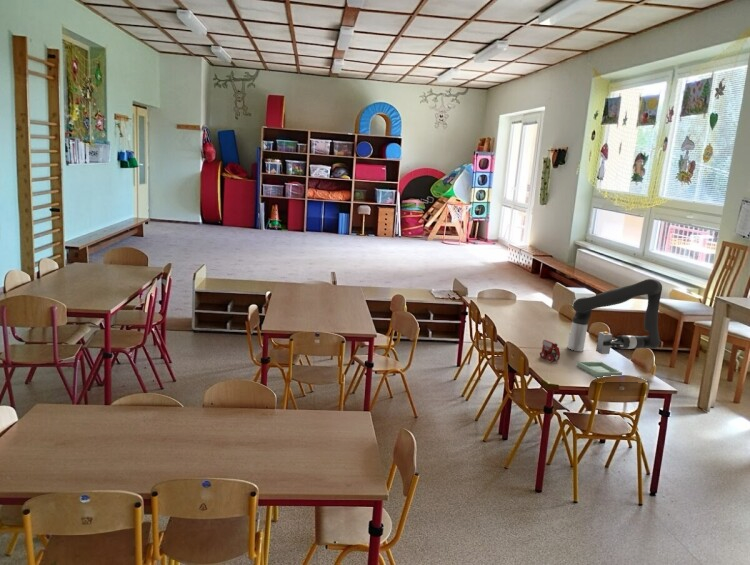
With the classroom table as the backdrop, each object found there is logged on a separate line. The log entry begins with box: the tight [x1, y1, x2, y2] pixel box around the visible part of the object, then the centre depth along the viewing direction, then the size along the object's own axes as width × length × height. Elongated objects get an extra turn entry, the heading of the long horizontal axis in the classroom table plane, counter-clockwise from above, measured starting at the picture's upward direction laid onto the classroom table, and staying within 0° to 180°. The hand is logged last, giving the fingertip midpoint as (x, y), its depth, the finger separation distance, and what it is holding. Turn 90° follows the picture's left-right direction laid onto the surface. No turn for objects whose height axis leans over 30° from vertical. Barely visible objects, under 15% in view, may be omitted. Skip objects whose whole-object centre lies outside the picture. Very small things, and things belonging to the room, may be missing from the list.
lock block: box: [595, 331, 613, 355], centre depth 335 cm, size 5×5×12 cm
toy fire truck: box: [539, 339, 561, 362], centre depth 353 cm, size 7×12×10 cm, turn 35°
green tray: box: [576, 361, 623, 379], centre depth 339 cm, size 18×16×3 cm
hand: (600, 342), depth 335 cm, fingers closed on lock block, 5 cm apart
